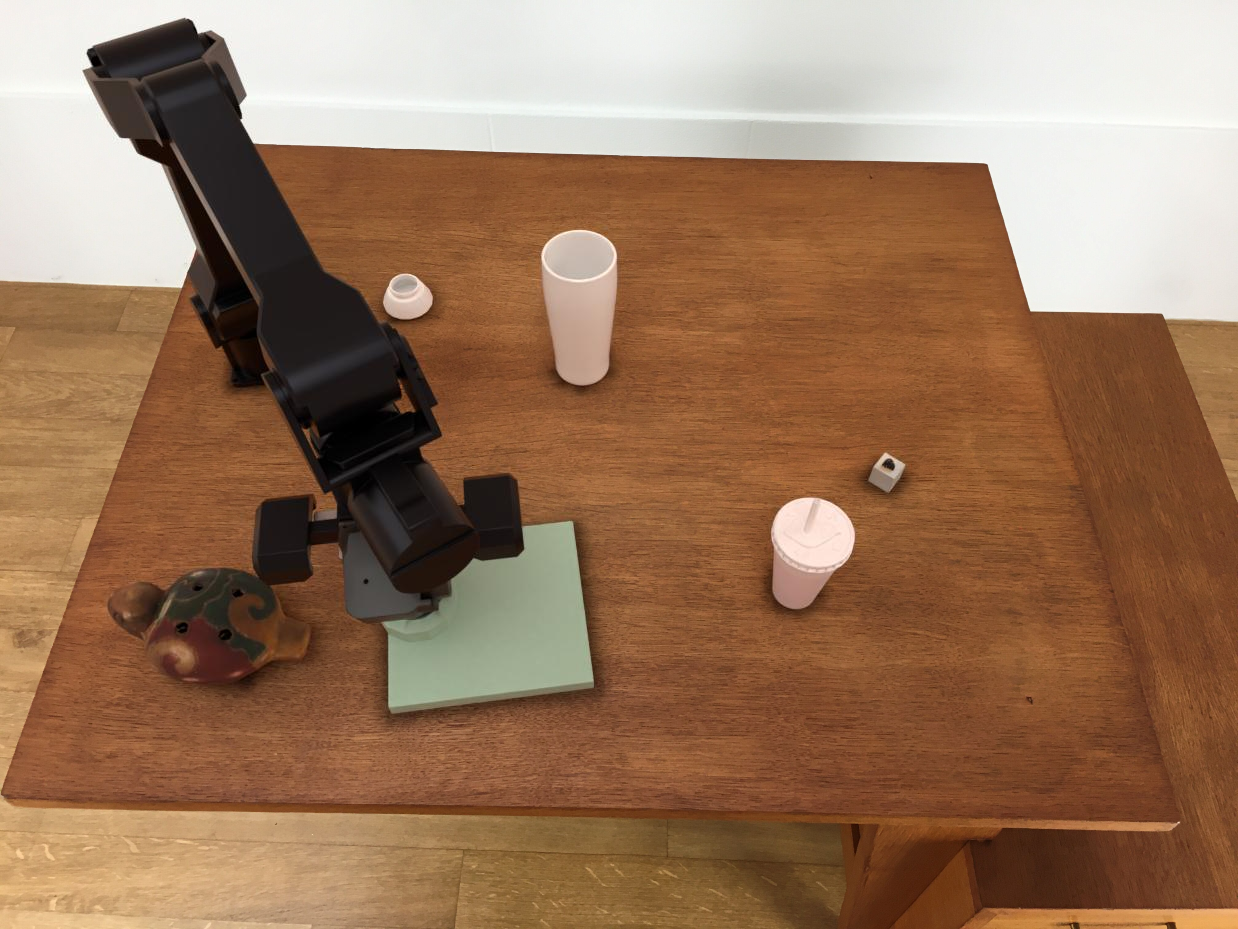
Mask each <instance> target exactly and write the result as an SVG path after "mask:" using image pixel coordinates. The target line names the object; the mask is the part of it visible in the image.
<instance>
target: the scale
mask: <svg viewBox="0 0 1238 929" xmlns="http://www.w3.org/2000/svg"><path fill="white" fill-rule="evenodd" d="M574 526H575V525H574V521H573V520H567V521H559V522H558V521H557V522H551V523H550V522H549V523H541V524H532V525H524V526H523V525H522V527H523V538H524V548H525V550H524V551H523V552H522V553H521V554H520V555H519V556H518V557H513V558H504V559H496V560H487V561H480V560H477V559H474V558H473V560H472V561H471V562H470V563H469V564H468V565H467V567H466V568H465V569H464V570H462V571H461V572H460V573H459V574H458V575H457V576H455V577H454V578H452V579H451V586H452V596H451V597H449V598H442V599H440V601H439V610H438V611H431V612H430V613H428V614H427V615H425V616H422V617H419V618H415V619H408V620H397V621H388V622H380V623H381V625H382V626H383V628H384V629H385V631H386V632H387V670H388V671H387V677H388V678H387V686H388V687H387V688H388V689H387V690H388V691H387V693H388V694H387V695H388V696H387V697H388V698H387V699H388V700H387V703H388V706H387V708H388V709H389V712H390V713H391V714H392V715H393V714H399V713H400V714H401V713H407V712H408V713H409V712H416V711H424V710H430V709H441V708H449V707H454V706H463V705H471V704H479V703H486V702H492V701H493V702H494V701H501V700H503V701H504V700H508V699H517V698H524V697H533V696H540V695H549V694H556V693H557V694H558V693H563V692H564V693H565V692H572V691H580V690H588V689H589V690H590V689H594V687H595V681H594V674H593V673H594V672H593V665H592V658H591V650H590V642H589V634H588V627H587V619H586V611H585V604H584V596H583V595H584V594H583V589H582V580H581V572H580V565H579V558H578V551H577V550H578V549H577V543H576V534H575V527H574Z"/></svg>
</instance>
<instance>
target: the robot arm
mask: <svg viewBox="0 0 1238 929" xmlns="http://www.w3.org/2000/svg"><path fill="white" fill-rule="evenodd" d="M85 54H86V56H87V60H88V61H89V63H90V67H87V68H85V69H84V68H83V69H82V70H81V71H82V73H83V76H84V77H85V80H86V82H87V84H88V86H89V88H90V90H91V92H92V94H93V96H94V98H95V100H96V103H97V104H98V106H99V108H100V109H101V111H102V113H103V115H104V116H105V119H106V120H107V122H108V124H109V125H110V127H111V128H112V129H113V131H114V132H115V134H116V135H117V136H118V138H120V139H128V140H129V141H130V143H131V145H132V147H133V148H134V151H135V152H136V154H138V155H139V156H141V157H144V158H146V159H148V160H151V161H153V162H156V163H157V164H160V165H161V167H162V170H163V172H164V174H165V176H166V179H167V181H168V183H169V186H170V189H171V191H172V193H173V195H174V198H175V200H176V203H177V205H178V208H179V209H180V213H181V214H182V217H183V219H184V222H185V224H186V226H187V229H188V231H189V233H190V236H191V238H192V241H193V243H194V245H195V248H196V250H197V255H195V258H194V260H193V262H192V263H191V265H190V267H189V269H188V270H187V272H186V274H187V277H188V280H189V281H190V284H191V286H192V288H193V291H194V293H195V294H193V295H190V296H188V301H189V303H190V305H191V307H192V309H193V311H194V313H195V315H196V317H197V320H198V321H199V323H200V325H201V326H202V328H203V330H204V332H205V333H206V335H207V336H208V337H207V338H208V339H209V340H210V342H211V344H212V345H213V348H214V350H218V349H220V348H222V351H223V352H224V355H225V356H226V358H227V361H228V364H229V365H230V367H231V376H230V384H231V385H232V386H233V387H235V388H238V387H241V388H242V387H250V386H259V385H260V386H261V385H265V387H266V389H267V392H268V394H269V396H270V398H271V399H272V401H273V403H274V405H275V407H276V409H277V411H278V412H279V413H278V414H280V416H281V418H282V420H283V422H284V424H285V426H286V428H287V429H288V432H289V434H290V435H291V438H292V439H293V442H295V444H296V446H297V448H298V451H299V452H300V454H301V456H302V458H303V459H304V461H305V463H306V465H307V467H308V469H309V471H310V472H311V474H312V476H313V478H314V479H315V481H316V483H317V484H318V486H319V488H320V489H321V492H322V493H323V494H324V495H327V494H329V493H330V492H331V493H332V497H333V499H334V501H335V503H336V508H335V509H327V510H318V511H315V510H316V509H317V505H318V504H317V499H316V497H315V495H314V493H306V494H298V495H289V496H280V497H271V498H266V499H264V500H263V501H261V502H260V504H259V505H258V507H256V509H255V516H254V527H253V535H252V537H253V538H252V548H251V563H252V568H253V570H254V572H255V574H256V575H257V577H258V578H259V579H260V580H261V581H262V582H264V583H265V584H266V585H267V586H270V587H271V586H279V585H286V584H287V585H289V584H295V583H296V584H297V583H304V582H306V581H308V580H309V579H310V578H311V577H313V576H314V566H313V564H312V562H311V554H312V546H321V545H329V544H338V558H339V560H340V561H341V563H342V566H343V567H342V568H343V582H344V583H343V584H344V599H345V600H344V602H345V610H346V612H347V614H348V616H350V617H352V618H353V619H355V620H357V621H359V622H361V623H363V624H365V625H374V624H380V623H381V622H388V621H397V620H408V619H415V618H417V617H419V616H421V615H422V614H423V613H424V612H430V611H438V610H439V601H440V599H442V598H449V597H451V596H452V586H451V579H452V578H454V577H455V576H457V575H458V574H459V573H460V572H461V571H462V570H464V569H465V568H466V567H467V565H468V564H469V563H470V562H471V561H472V560H473V558H474V559H477V560H480V561H487V560H496V559H504V558H513V557H518V556H519V555H520V554H521V553H522V552H523V551H524V550H525V548H524V538H523V527H522V526H523V519H522V517H523V516H522V508H521V496H520V489H519V481H518V479H517V478H516V477H515V476H514V475H513V474H512V473H510V472H501V473H492V474H483V475H474V476H465V477H463V479H462V486H463V503H464V504H459V503H458V502H457V501H456V499H455V497H454V496H453V495H452V493H451V491H450V490H449V489H448V487H447V486H446V484H445V482H444V481H443V479H442V478H441V477H440V475H439V474H438V472H437V471H436V469H435V468H434V467H433V465H432V464H431V462H429V460H427V459H426V458H425V457H423V455H422V452H421V448H422V447H424V446H426V445H428V444H430V443H432V442H434V441H437V440H438V439H440V438H442V437H443V434H442V431H441V428H440V426H439V424H438V421H437V419H436V417H435V415H434V413H433V410H432V408H434V407H436V406H437V405H439V403H438V401H437V398H436V397H435V394H434V393H433V390H432V388H431V386H430V384H429V382H428V380H427V378H426V376H425V373H424V372H423V369H422V368H421V365H420V364H419V361H418V360H417V358H416V355H415V353H414V351H413V349H412V347H411V345H410V342H408V339H407V337H406V336H405V335H404V334H403V333H401V332H399V331H398V330H397V328H396V327H393V326H392V325H391V324H390V323H389V322H388V321H387V320H386V319H383V320H381V321H379V320H378V318H377V316H376V315H375V313H374V312H373V310H372V308H371V306H370V305H369V303H368V302H367V299H366V298H365V297H364V295H363V293H362V292H361V291H360V289H358V288H356V287H354V286H353V285H351V284H350V283H348V282H346V281H344V280H343V279H341V278H339V277H337V276H335V275H333V274H331V273H330V272H328V271H327V270H325V269H324V267H323V265H322V264H321V262H320V260H319V259H318V257H317V255H316V253H315V252H314V250H313V248H312V246H311V245H310V242H309V241H308V239H307V238H306V236H305V234H304V232H303V229H302V228H301V226H300V225H299V223H298V221H297V219H296V218H295V215H294V214H293V212H292V210H291V209H290V206H289V205H288V203H287V201H286V200H285V197H284V196H283V194H282V192H281V190H280V189H279V187H278V185H277V184H276V182H275V180H274V178H273V176H272V174H271V172H270V170H269V168H268V167H267V165H266V163H265V162H264V160H263V158H262V156H261V154H260V153H259V151H258V149H257V147H256V145H255V144H254V142H253V140H252V138H251V136H250V135H249V132H248V130H247V129H246V128H245V126H244V123H243V122H242V120H243V112H242V109H241V104H242V103H243V101H244V100H246V98H247V96H248V94H247V92H246V88H245V86H244V84H243V82H242V80H241V76H240V74H239V71H238V68H237V67H236V64H235V62H234V60H233V57H232V55H231V52H230V49H229V48H228V44H227V42H226V40H225V38H224V37H222V36H221V35H220V34H218V33H216V32H214V30H212V29H209V30H206V31H203V32H198V29H197V27H196V25H195V22H194V21H193V20H192V19H190V18H186V17H182V18H180V19H175V20H173V21H169V22H167V23H166V22H165V23H163V24H160V25H159V24H158V25H156V26H153V27H150V28H146V29H143V30H140V31H136V32H133V33H130V34H126V35H123V36H120V37H117V38H113V39H110V40H107V41H103V42H101V43H97V44H94V45H92V47H90V48H87V50H86V53H85ZM401 387H402V388H403V391H404V393H405V394H406V396H407V399H408V401H409V403H410V404H411V406H412V407H413V409H414V411H412V410H407V411H405V412H401V410H400V408H399V407H398V405H397V404H396V403H398V402H399V401H401V400H402V399H403V392H402V389H401ZM303 429H304V430H308V433H309V439H308V437H307V436H306V434H305V432H304V430H303ZM309 440H310V442H309ZM314 511H315V512H314Z"/></svg>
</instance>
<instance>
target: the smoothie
mask: <svg viewBox="0 0 1238 929" xmlns="http://www.w3.org/2000/svg"><path fill="white" fill-rule="evenodd" d="M770 534H771V535H770V536H771V542H772V545H773V564H772V566H773V567H772V584H771V585H772V586H771V589H772V590H771V591H772V594H773V596H774V598H775V600H776V601H777V602H778V603H779V604H780V605H782V606H783V607H786V608H788V609H792V610H801V609H804V608H807V607H809V606H810V605H811V604H812V603H813V602H814V600H815V599H816V597H817V596H818V594H819V593H820V592H821V591H822V590H823V588H824V586H825V585H826V583H827V582H828V581H829V579H830V578H831V577H832V575H833V574H834V572H835V571H836V570H837V569H839V568H841V567H842V566H843V565H844V564H845V563H846V562H847V561H848V560H849V558H850V556H851V554H852V552H853V549H854V545H855V540H856V534H855V528H854V525H853V523H852V521H851V519H850V518H849V515H847V514H846V512H844V511H843V509H841V508H840V507H839V506H837V505H836V504H834V503H832V502H831V501H828V500H826V499H823V498H819V497H802V498H796V499H793V500H791V501H789V502H788V503H786V504H784V505H783V506H782V507H781V508H780V509H779V511H777V513H776V515H775V517H774V520H773V522H772V525H771V529H770Z"/></svg>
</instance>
